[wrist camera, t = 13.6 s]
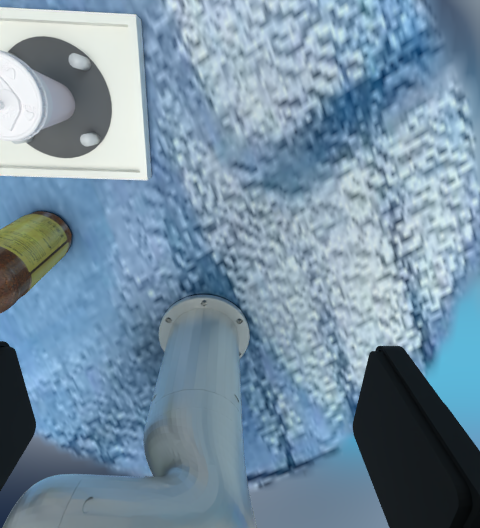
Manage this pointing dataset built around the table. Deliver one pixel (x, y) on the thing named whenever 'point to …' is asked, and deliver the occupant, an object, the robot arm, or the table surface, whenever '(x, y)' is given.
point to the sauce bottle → (29, 253)
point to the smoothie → (29, 100)
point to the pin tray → (82, 94)
